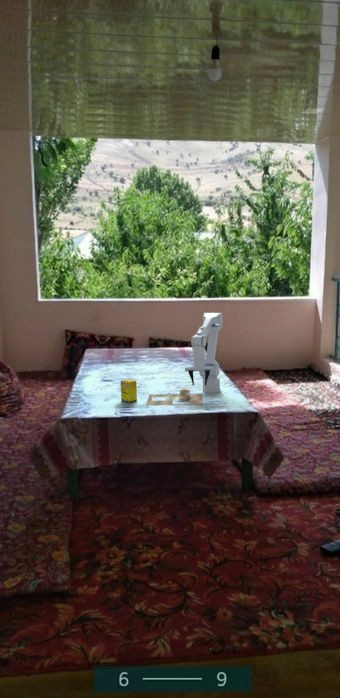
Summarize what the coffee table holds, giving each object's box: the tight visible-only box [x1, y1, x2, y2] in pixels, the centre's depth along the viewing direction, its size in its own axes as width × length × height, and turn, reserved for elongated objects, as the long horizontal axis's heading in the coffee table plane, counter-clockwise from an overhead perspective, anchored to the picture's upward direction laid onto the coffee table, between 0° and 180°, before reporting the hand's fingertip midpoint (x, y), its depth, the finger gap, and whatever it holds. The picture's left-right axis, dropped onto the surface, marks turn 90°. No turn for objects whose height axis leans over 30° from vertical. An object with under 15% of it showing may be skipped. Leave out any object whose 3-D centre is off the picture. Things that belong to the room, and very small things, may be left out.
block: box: [179, 387, 191, 401], centre depth 268 cm, size 5×5×5 cm
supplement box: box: [120, 378, 138, 404], centre depth 270 cm, size 6×6×11 cm
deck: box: [145, 393, 204, 406], centre depth 267 cm, size 28×22×2 cm
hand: (199, 385), depth 267 cm, fingers open, 6 cm apart
